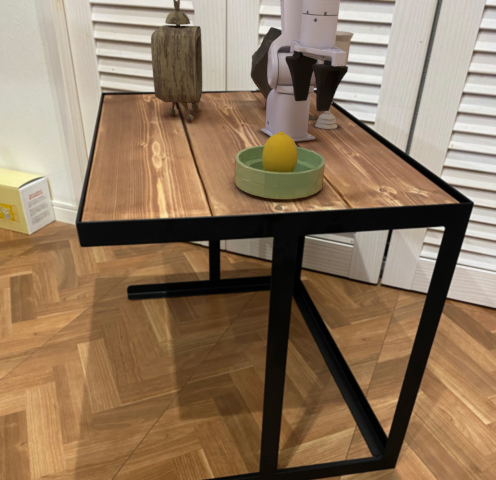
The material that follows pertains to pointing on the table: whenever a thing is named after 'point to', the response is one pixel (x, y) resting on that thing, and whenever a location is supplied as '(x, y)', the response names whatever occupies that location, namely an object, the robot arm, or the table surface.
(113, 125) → the table surface
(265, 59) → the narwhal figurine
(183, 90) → the tabletop clock
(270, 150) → the lemon
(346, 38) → the chalice
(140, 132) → the table surface
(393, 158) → the table surface
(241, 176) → the bowl
